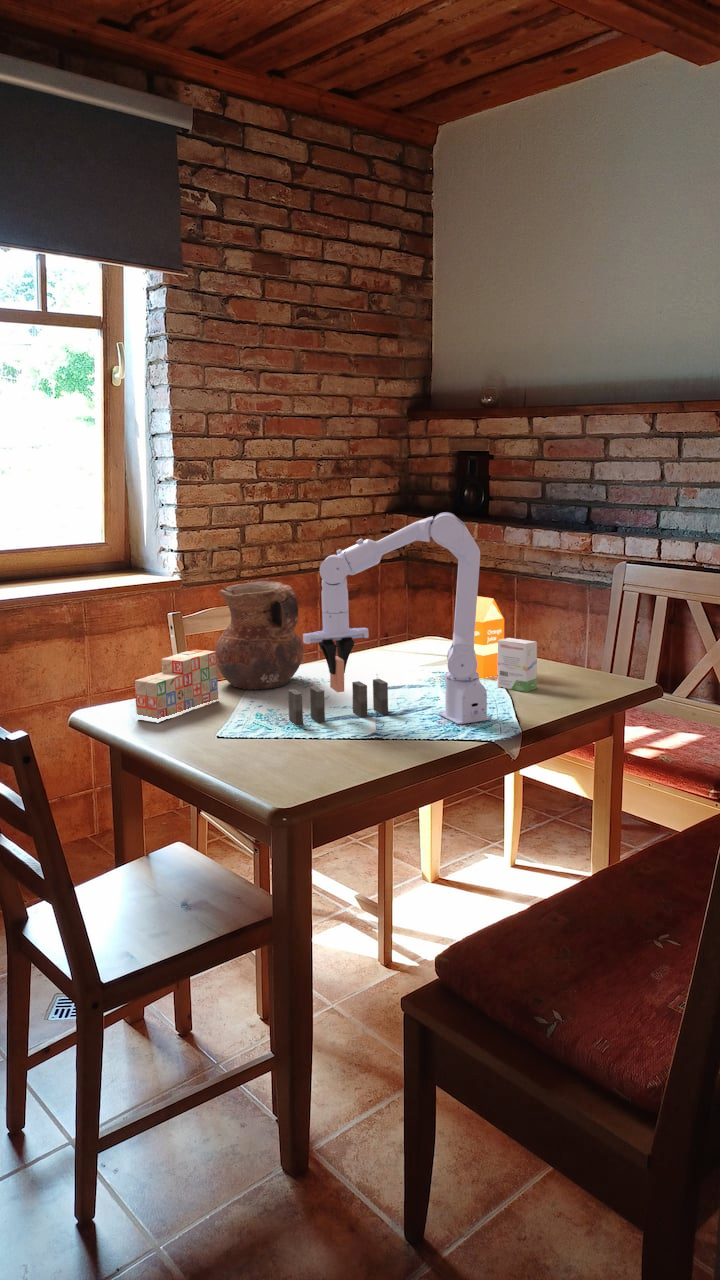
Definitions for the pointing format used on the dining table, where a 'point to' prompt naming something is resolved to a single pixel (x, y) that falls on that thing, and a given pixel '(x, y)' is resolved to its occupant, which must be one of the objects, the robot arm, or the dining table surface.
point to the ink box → (517, 664)
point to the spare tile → (338, 676)
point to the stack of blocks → (178, 684)
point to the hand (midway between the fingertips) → (337, 672)
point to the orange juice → (487, 636)
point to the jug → (259, 636)
